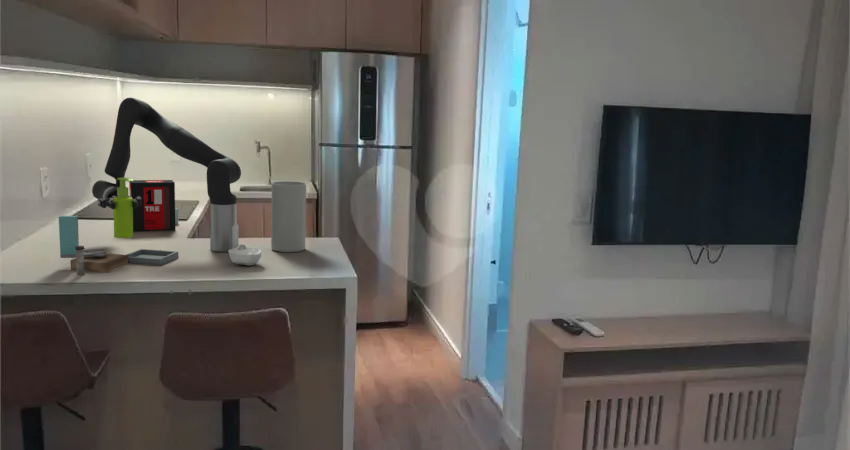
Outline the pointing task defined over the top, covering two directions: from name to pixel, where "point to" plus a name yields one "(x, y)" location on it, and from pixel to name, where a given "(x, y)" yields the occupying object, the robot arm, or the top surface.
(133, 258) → the tray
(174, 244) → the top surface
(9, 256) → the top surface
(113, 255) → the crank base
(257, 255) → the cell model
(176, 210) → the right angle wall
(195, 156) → the robot arm
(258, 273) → the top surface
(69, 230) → the teal upright panel
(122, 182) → the soap dispenser
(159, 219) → the cleaning product box
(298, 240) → the cylinder vase
